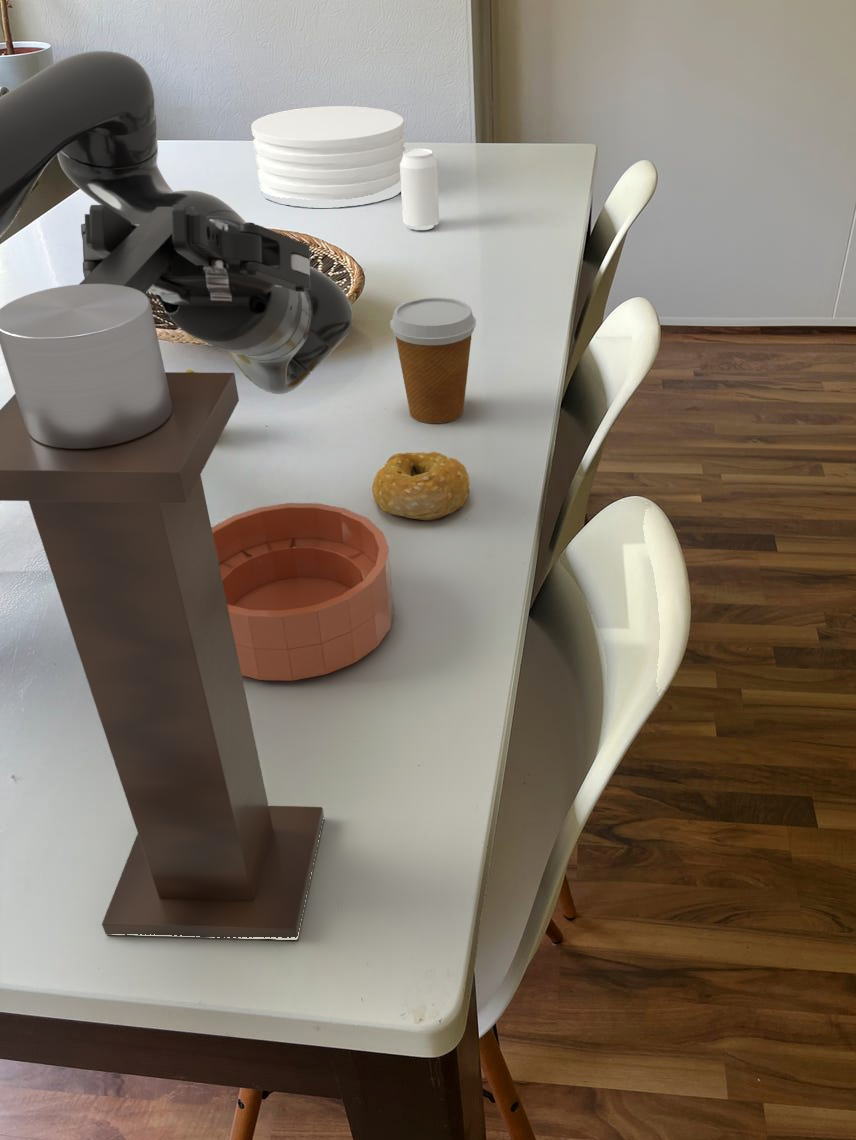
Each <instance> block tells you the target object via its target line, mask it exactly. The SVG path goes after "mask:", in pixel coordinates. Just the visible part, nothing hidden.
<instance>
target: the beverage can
mask: <svg viewBox="0 0 856 1140" xmlns="http://www.w3.org/2000/svg"><path fill="white" fill-rule="evenodd" d="M438 175H439V174H438V162H437V160H436V158H435V156H434V151H433V150H432V149H428V148H410V149H405V151H404V152H403V157H402V160H401V162H400V178H401V194H400V195H401V211H402V223H403V222H404V224H406V225H410V226H416V227H417V226H419V227H421V226H429V225H433V224H436V223H437V222H438V221H439V222H440V212H439V211H440V205H439V202H440V201H439V176H438ZM404 224H403V225H404Z"/></svg>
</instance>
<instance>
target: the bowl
mask: <svg viewBox="0 0 856 1140" xmlns="http://www.w3.org/2000/svg"><path fill="white" fill-rule="evenodd" d="M211 528H212V533H213V538H214V543H215V548H216V553H217V558H218V562H219V567H220V572H221V577H222V582H223V587H224V592H225V597H226V601H227V606H228V611H229V616H230V621H231V626H232V631H233V636H234V640H235V645H236V650H237V655H238V660H239V665H240V670H241V675H242V677H247V678H250V679H254V680H258V681H292V682H293V681H298V680H302V679H309V678H314V677H320V676H325V675H328V674H330V673H334V672H336V671H337V670H341V669H344V668H345V667H348V666H350V665H352V664H355V663H357V662H358V661H360V660H361V659H362V658H364V657H365V656H366V655H368V654H369V653H371V652H372V651H373V650H375V649H376V648H377V647H378V646H379V645H380V643H381V642H382V641H383V639H384V638H385V636H386V635H387V634H388V632H389V631H390V630H391V626H392V621H393V615H394V612H395V611H394V608H395V607H394V598H393V585H392V570H391V559H390V548H389V545H388V543H387V540H386V538H385V535H384V532H383V531H382V530H381V529H380V528H379V527H378V526H377V525H376V524H375V523H373V522H372V521H371V520H370V519H369V518H367V517H365V516H363V515H361V514H359V513H356V512H354V511H353V510H349V509H347V508H345V507H339V506H334V505H329V504H324V503H318V502H317V503H313V502H311V503H309V502H308V503H306V502H303V503H302V502H287V503H281V504H274V505H268V506H266V505H265V506H260V507H256V508H254V509H253V508H252V509H251V510H247V511H244V512H241V513H238V514H235V515H231V516H229V517H228V518H226V519H224V520H222V521H220V522H219V523H217V524H215V525H213V526H211Z"/></svg>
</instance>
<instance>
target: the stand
mask: <svg viewBox="0 0 856 1140" xmlns="http://www.w3.org/2000/svg"><path fill="white" fill-rule="evenodd" d="M165 374H166V378H167V383H168V388H169V392H170V397H171V402H172V412H171V415H170V417H169V418H168V419H167V421H166V422H165V423H164V424H163V425H161V426H160V427H159V428H157V429H156V430H154V431H152V432H151V433H149V434H147V435H144V436H142V437H140V438H137V439H135V440H132V441H129V442H125V443H122V444H118V445H113V446H108V447H101V448H93V449H64V448H56V447H51V446H48V445H45V444H42V443H40V442H38V441H36V440H35V439H33V438H32V437H31V436H30V435H29V433H28V431H27V429H26V426H25V422H24V419H23V416H22V413H21V410H20V407H19V403H18V400H17V397H16V394H15V393H14V394H13V395H12V396H11V397H10V399H8V401H7V402H5V404H4V405H3V406H2V407H1V409H0V502H3V501H4V502H6V501H7V502H28V504H29V508H30V510H31V514H32V516H33V520H34V523H35V525H36V529H37V533H38V535H39V538H40V541H41V544H42V546H43V550H44V552H45V556H46V558H47V562H48V566H49V568H50V571H51V574H52V577H53V581H54V583H55V586H56V590H57V592H58V595H59V599H60V601H61V604H62V608H63V610H64V613H65V616H66V619H67V622H68V625H69V629H70V632H71V635H72V638H73V641H74V645H75V647H76V651H77V653H78V656H79V659H80V662H81V665H82V668H83V671H84V674H85V678H86V680H87V684H88V686H89V689H90V693H91V696H92V698H93V701H94V706H95V708H96V712H97V714H98V716H99V721H100V723H101V726H102V729H103V732H104V735H105V738H106V741H107V744H108V747H109V750H110V754H111V757H112V760H113V762H114V765H115V769H116V772H117V774H118V778H119V780H120V783H121V786H122V790H123V793H124V796H125V798H126V802H127V805H128V808H129V811H130V814H131V817H132V820H133V823H134V826H135V829H136V833H137V834H136V837H135V839H134V841H133V844H132V847H131V849H130V852H129V854H128V856H127V860H126V861H125V864H124V867H123V870H122V871H121V875H120V877H119V880H118V882H117V883H116V884H117V885H116V887H115V889H114V892H113V894H112V897H111V899H110V902H109V905H108V907H107V909H106V912H105V915H104V917H103V920H102V922H101V926H102V928H103V932H104V934H105V935H106V934H125V935H127V934H138V935H140V934H142V935H145V934H146V935H150V934H151V935H154V934H155V935H172V936H174V935H177V936H180V935H182V936H195V937H196V936H200V937H215V938H217V937H220V938H224V937H225V938H227V937H230V938H233V937H236V938H238V937H241V938H242V937H247V938H249V937H252V938H253V937H264V938H265V937H270V938H271V937H276V938H278V937H282V938H287V937H289V938H291V937H295V938H296V937H297V936H298V932H299V928H300V923H301V919H302V914H303V910H304V905H305V900H306V895H307V891H308V888H309V889H310V887H309V883H310V884H311V882H310V877H311V872H312V869H313V870H314V868H313V863H314V859H315V854H316V850H317V845H318V840H319V835H320V831H321V826H322V821H323V818H324V819H325V815H324V808H323V806H299V805H298V806H295V805H269V802H268V797H267V792H266V787H265V782H264V778H263V773H262V768H261V763H260V762H261V761H260V758H259V753H258V749H257V742H256V738H255V734H254V730H253V724H252V717H251V714H250V710H249V709H250V708H249V704H248V699H247V695H246V689H245V685H244V680H243V676H242V675H241V670H240V665H239V660H238V655H237V650H236V645H235V640H234V636H233V631H232V626H231V621H230V616H229V611H228V606H227V601H226V597H225V592H224V587H223V582H222V577H221V572H220V567H219V562H218V558H217V553H216V548H215V543H214V538H213V533H212V528H211V527H212V523H211V518H210V514H209V509H208V504H207V500H206V495H205V489H204V485H203V479H202V476H201V474H202V473H203V471H204V468H205V467H206V465H207V463H208V461H209V459H210V457H211V455H212V454H213V451H214V450H215V448H216V446H217V444H218V442H219V440H220V437H221V436H222V435H223V432H224V431H225V428H226V426H227V424H228V423H229V420H230V419H231V417H232V415H233V413H234V411H235V410H236V408H237V406H238V404H239V402H240V398H239V392H238V386H237V380H236V375H235V372H199V373H192V372H186V371H185V372H182V371H179V372H178V371H175V372H173V371H165ZM322 827H323V826H322ZM321 832H322V831H321ZM319 841H320V840H319ZM318 846H319V845H318ZM317 851H318V850H317ZM316 855H317V854H316ZM315 860H316V859H315Z"/></svg>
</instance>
